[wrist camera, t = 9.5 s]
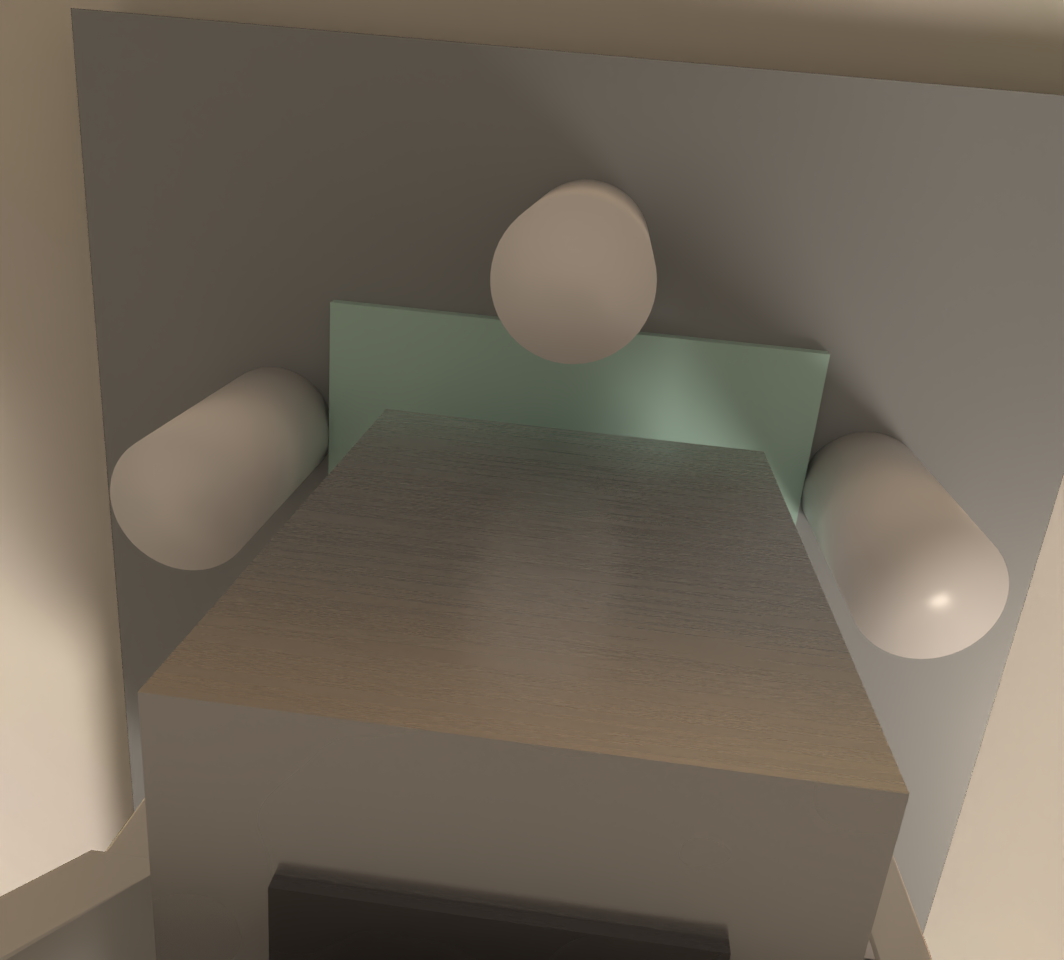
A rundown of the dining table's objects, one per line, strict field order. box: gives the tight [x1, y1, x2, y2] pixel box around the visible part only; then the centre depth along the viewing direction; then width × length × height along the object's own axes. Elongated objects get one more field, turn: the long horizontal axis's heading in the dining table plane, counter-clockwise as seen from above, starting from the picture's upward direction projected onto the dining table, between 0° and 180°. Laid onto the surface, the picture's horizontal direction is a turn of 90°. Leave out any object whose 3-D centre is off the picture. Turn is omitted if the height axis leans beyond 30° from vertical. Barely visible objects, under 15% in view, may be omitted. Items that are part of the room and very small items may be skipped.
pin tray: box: [71, 8, 1064, 934], centre depth 13 cm, size 13×16×4 cm
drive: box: [138, 409, 910, 960], centre depth 9 cm, size 4×8×6 cm, turn 175°
